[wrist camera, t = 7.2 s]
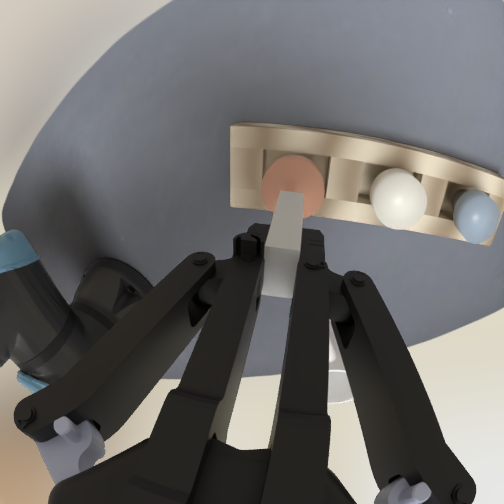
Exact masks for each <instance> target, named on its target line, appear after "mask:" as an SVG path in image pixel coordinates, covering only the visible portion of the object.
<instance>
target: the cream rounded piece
mask: <svg viewBox="0 0 504 504" xmlns="http://www.w3.org/2000/svg"><path fill="white" fill-rule="evenodd" d="M370 202H371V204H372V207H373V209H374V211H375V213H376V216H377V217H378V219H379V220H380V222H381V223H382V224H384V225H385V226H387V227H389V228H392V229H406V228H409V227H411V226H413V225H414V224H416V223H417V222H418V221H419V220H420V219H421V217H422V216H423V214H424V212H425V210H426V206H427V195H426V192H425V189H424V187H423V186H422V184H421V183H420V182H419V181H418V180H417V179H416V178H415V177H414V176H413V175H412V174H411V173H409V172H408V171H406V170H404V169H400V168H392V169H388V170H385V171H383V172H382V173H380V174H379V175H378V176H377V177H376V178H375V180H374V181H373V183H372V185H371V188H370Z"/></svg>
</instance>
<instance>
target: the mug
mask: <svg viewBox="0 0 504 504" xmlns="http://www.w3.org/2000/svg"><path fill="white" fill-rule="evenodd" d="M351 400H353V395H352V392H351V388H350V385H349V381H348V378H347V374H346V371H345V368H344V364H343V361H342V358H341V354H340V351H339V348H338V345H337V341H336V338H335V335H334V332H333V329H332V326H331V320H330V319H329V382H328V403H327V404H338V403H344V402H348V401H351Z"/></svg>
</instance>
